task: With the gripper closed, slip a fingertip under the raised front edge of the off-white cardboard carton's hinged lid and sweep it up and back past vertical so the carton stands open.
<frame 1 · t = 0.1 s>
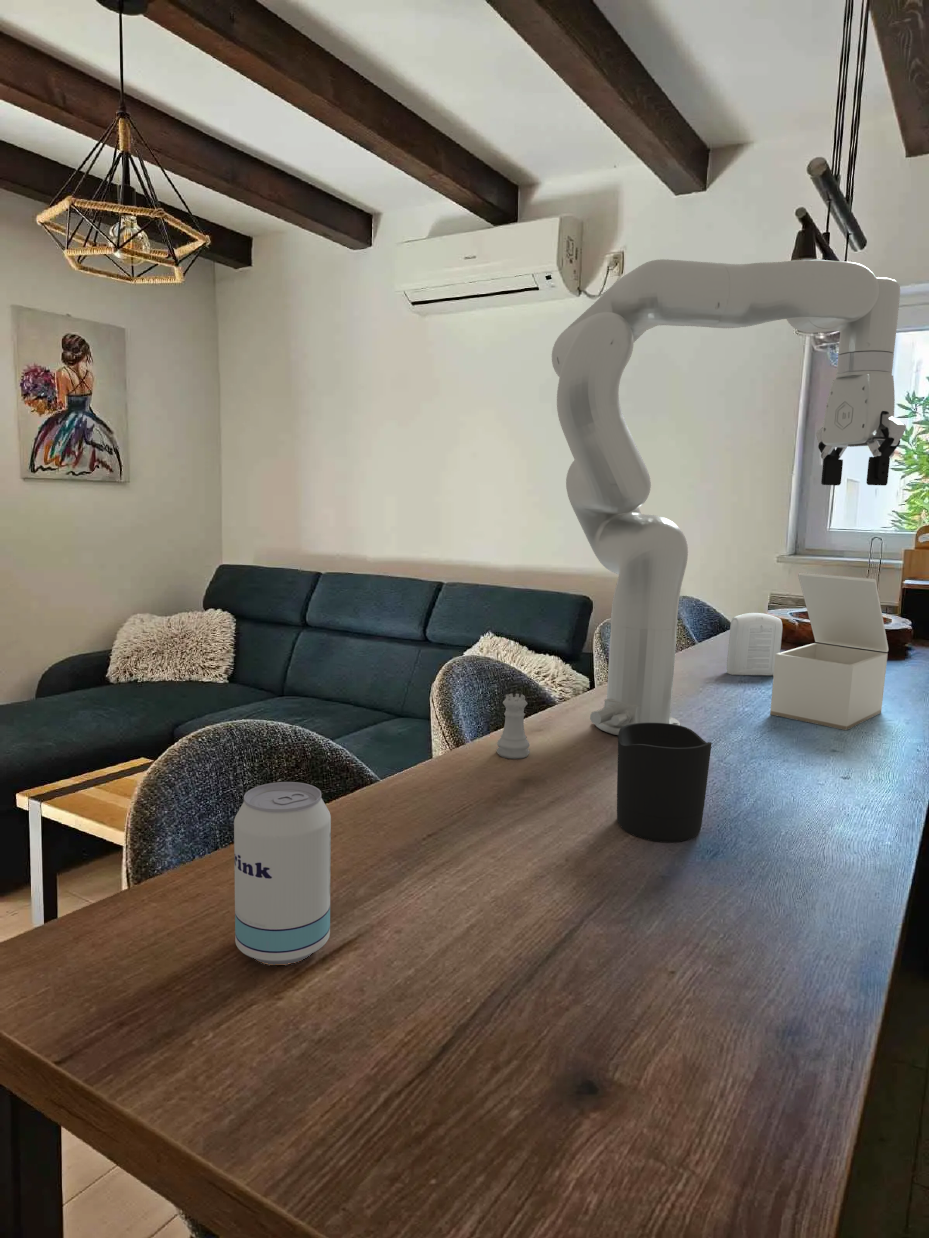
hand: (852, 485, 127), 37 cm above the table, tool pointing down, fingers open, 9 cm apart
carton lid: (843, 612, 137), point 17 cm above the table, hinge at 50.0°
carton: (826, 713, 138), on the table
rook chess piece: (512, 756, 111), on the table
pen holder: (658, 828, 88), on the table
beverage can: (283, 950, 63), on the table
photo printer: (751, 675, 167), on the table
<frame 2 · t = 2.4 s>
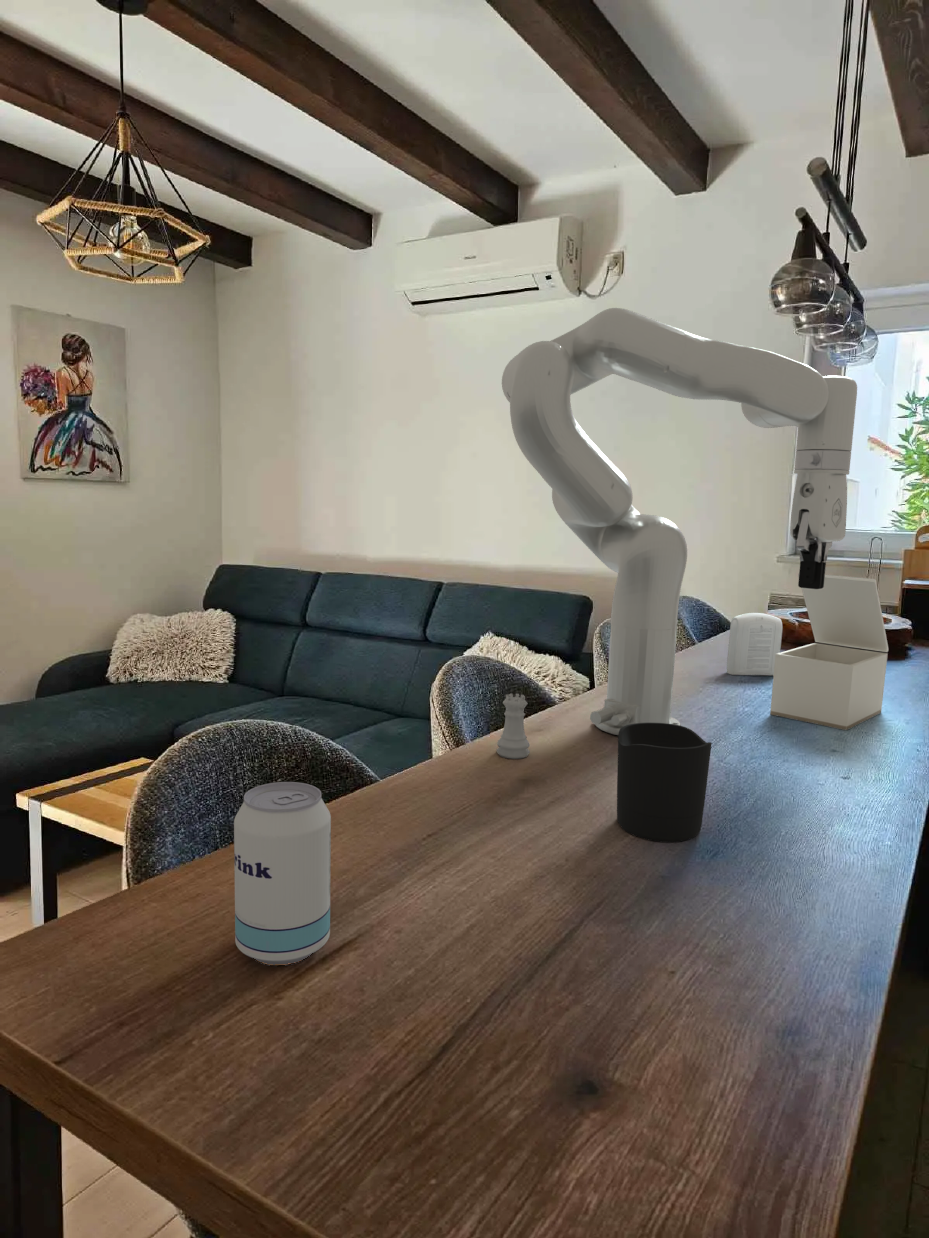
hand: (810, 587, 126), 22 cm above the table, tool pointing down, fingers closed
nothing on the table moved.
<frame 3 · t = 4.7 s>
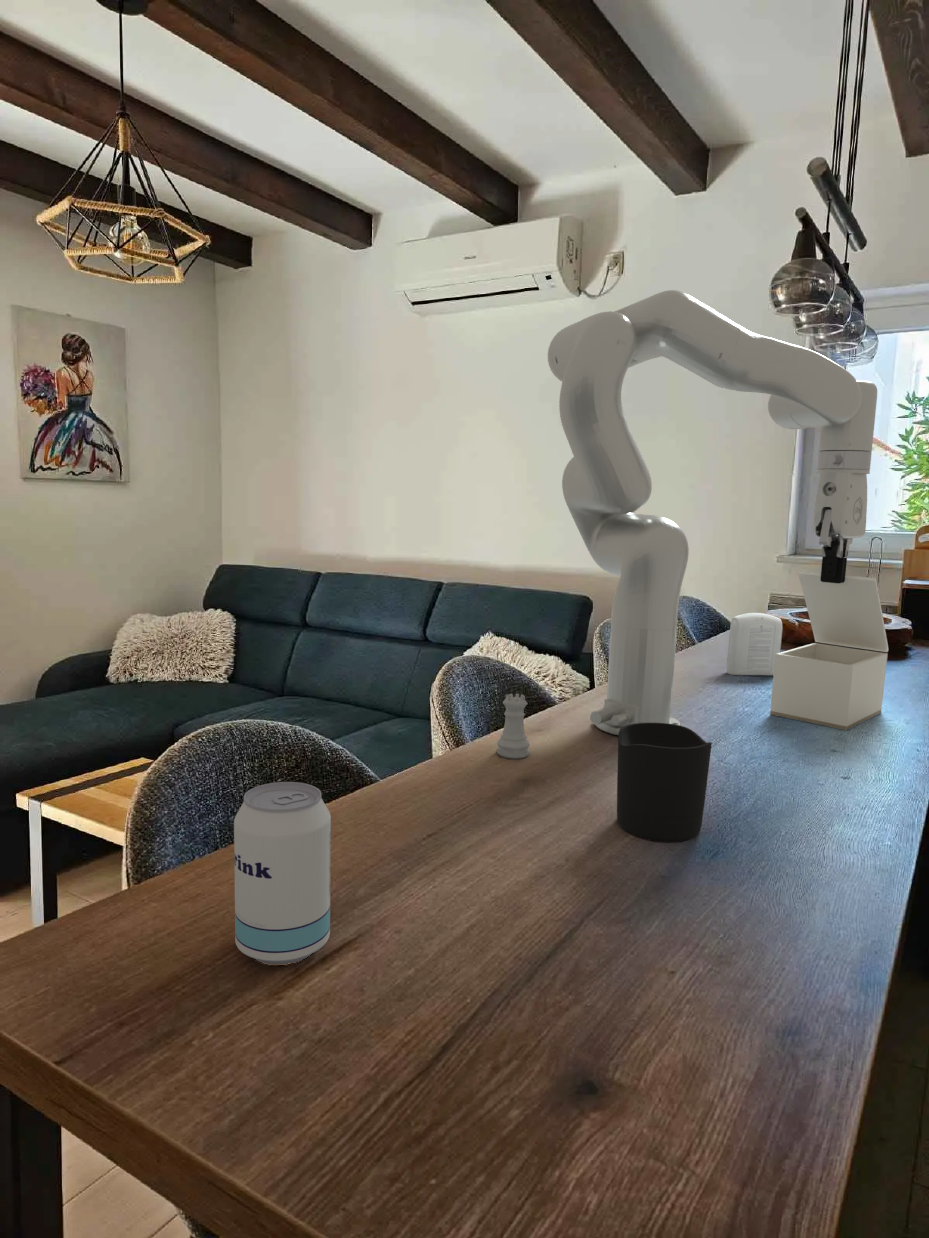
hand: (832, 582, 132), 22 cm above the table, tool pointing down, fingers closed
carton lid: (843, 612, 137), point 17 cm above the table, hinge at 50.8°, touching gripper
everything else where it was.
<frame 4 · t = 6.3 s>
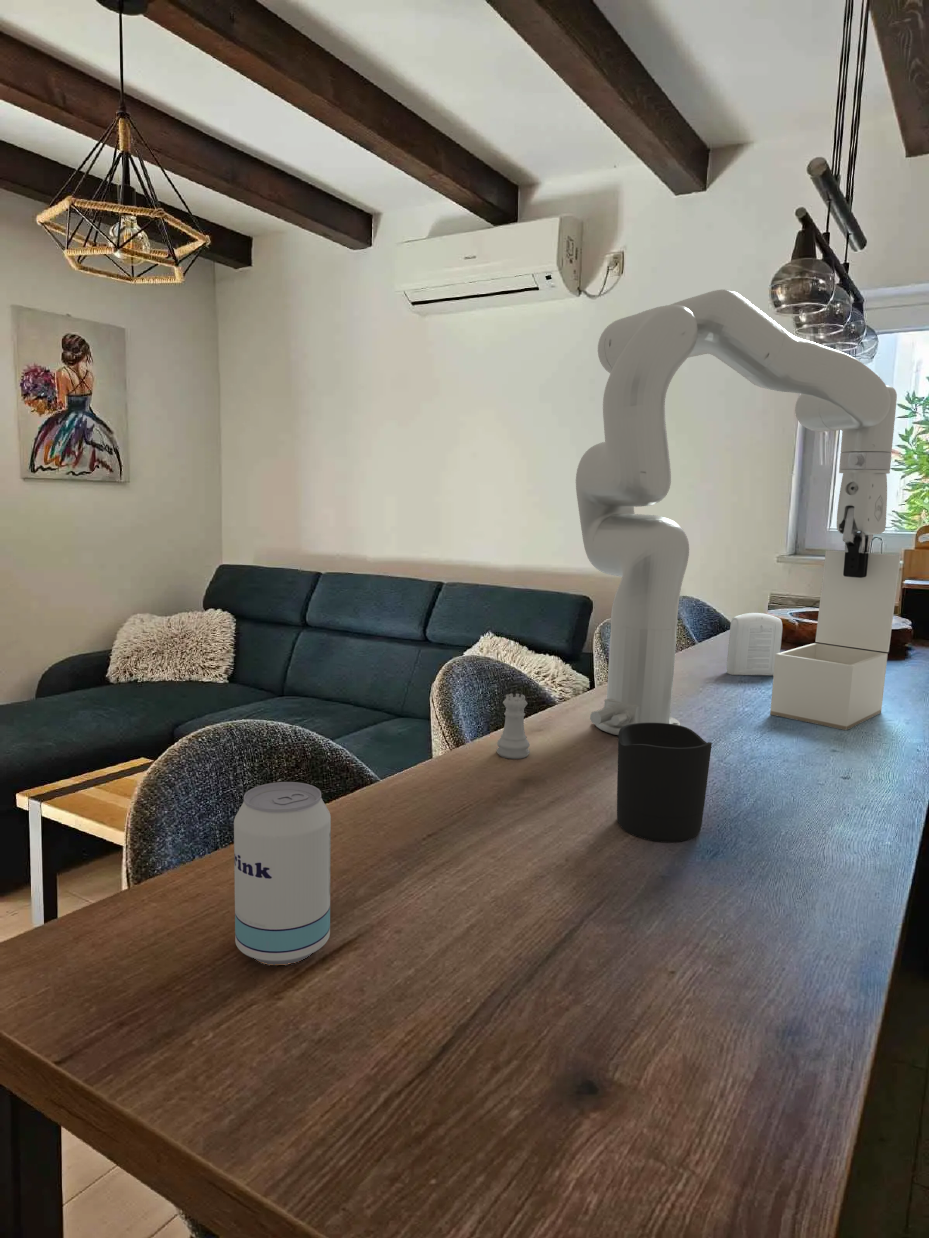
hand: (854, 576, 139), 22 cm above the table, tool pointing down, fingers closed
carton lid: (856, 600, 141), point 18 cm above the table, hinge at 92.8°, touching gripper
everything else where it was.
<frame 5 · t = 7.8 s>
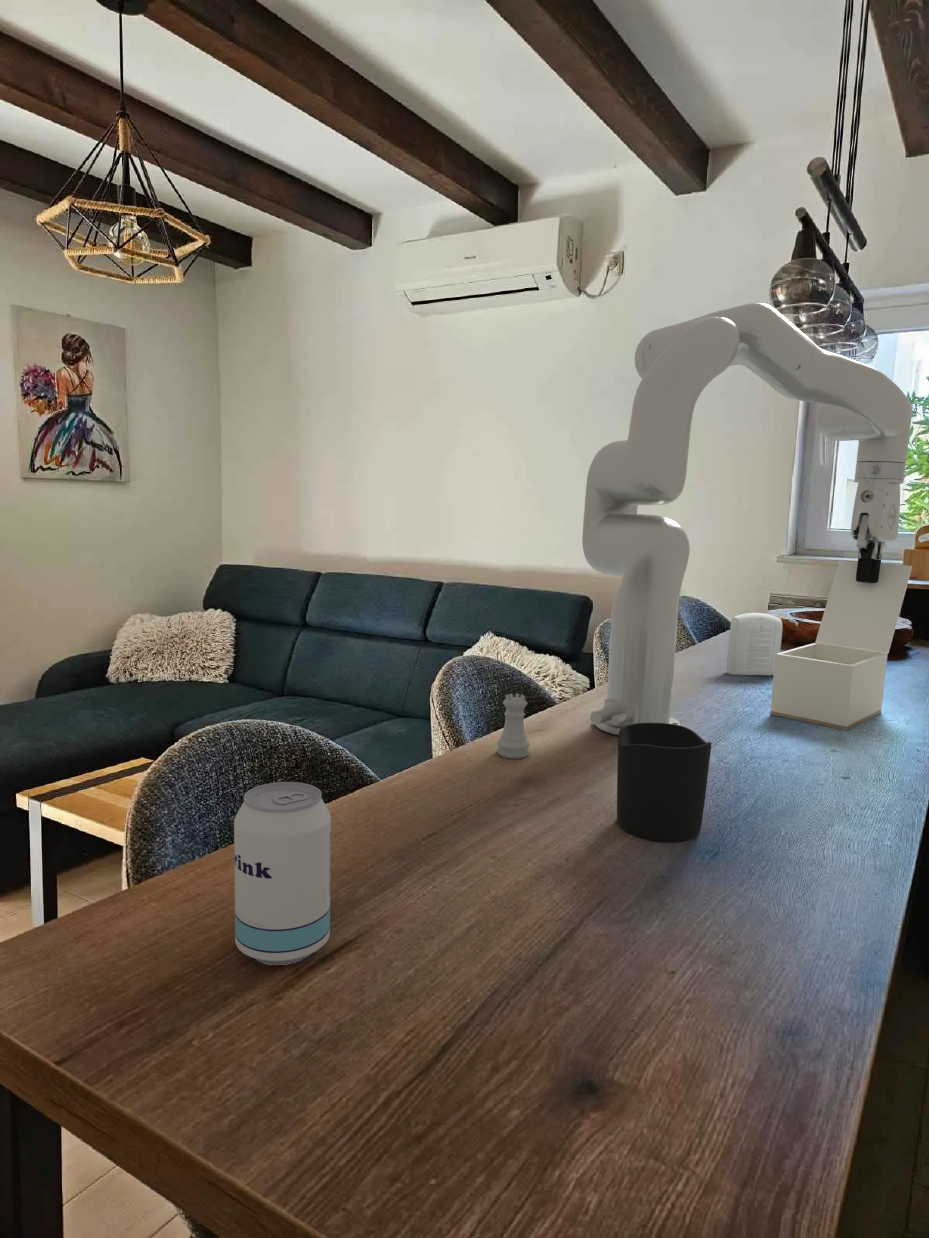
hand: (866, 582, 144), 21 cm above the table, tool pointing down, fingers closed
carton lid: (863, 605, 144), point 17 cm above the table, hinge at 119.2°, touching gripper
everything else where it was.
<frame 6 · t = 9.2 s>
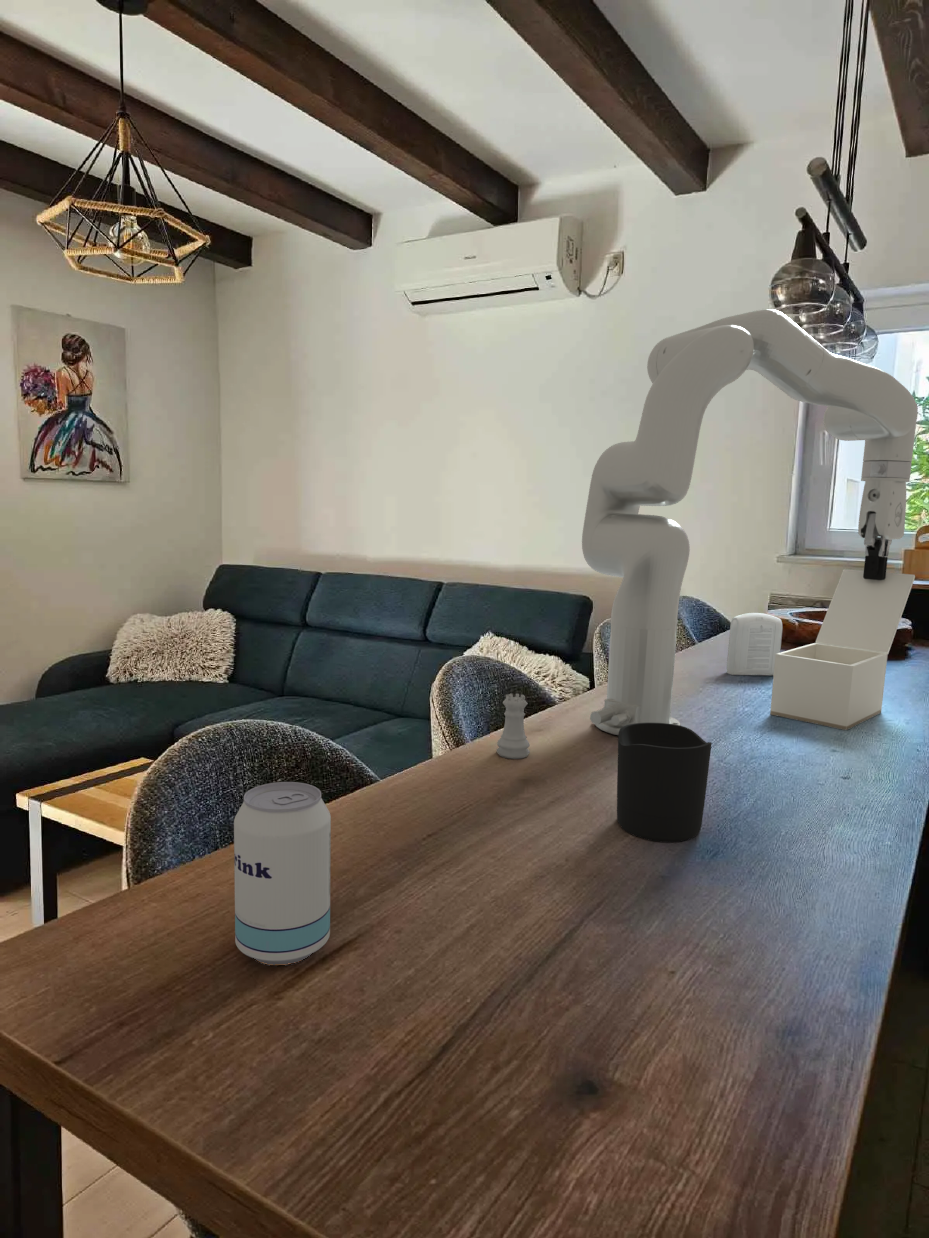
hand: (874, 579, 146), 21 cm above the table, tool pointing down, fingers closed
carton lid: (864, 609, 145), point 16 cm above the table, hinge at 129.7°, touching gripper
everything else where it was.
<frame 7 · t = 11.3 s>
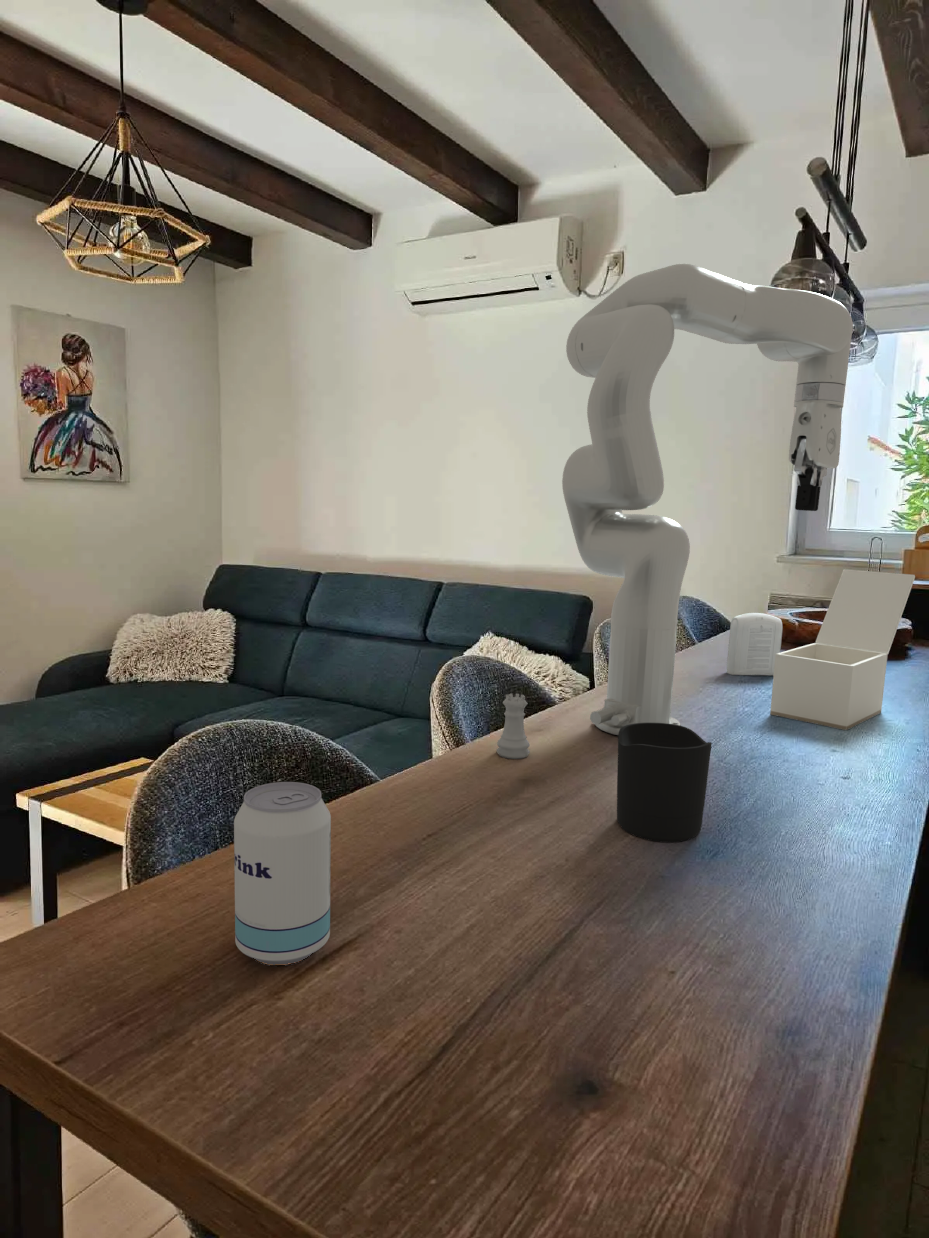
hand: (806, 510, 139), 33 cm above the table, tool pointing down, fingers closed
carton lid: (864, 609, 145), point 16 cm above the table, hinge at 129.8°
everything else where it was.
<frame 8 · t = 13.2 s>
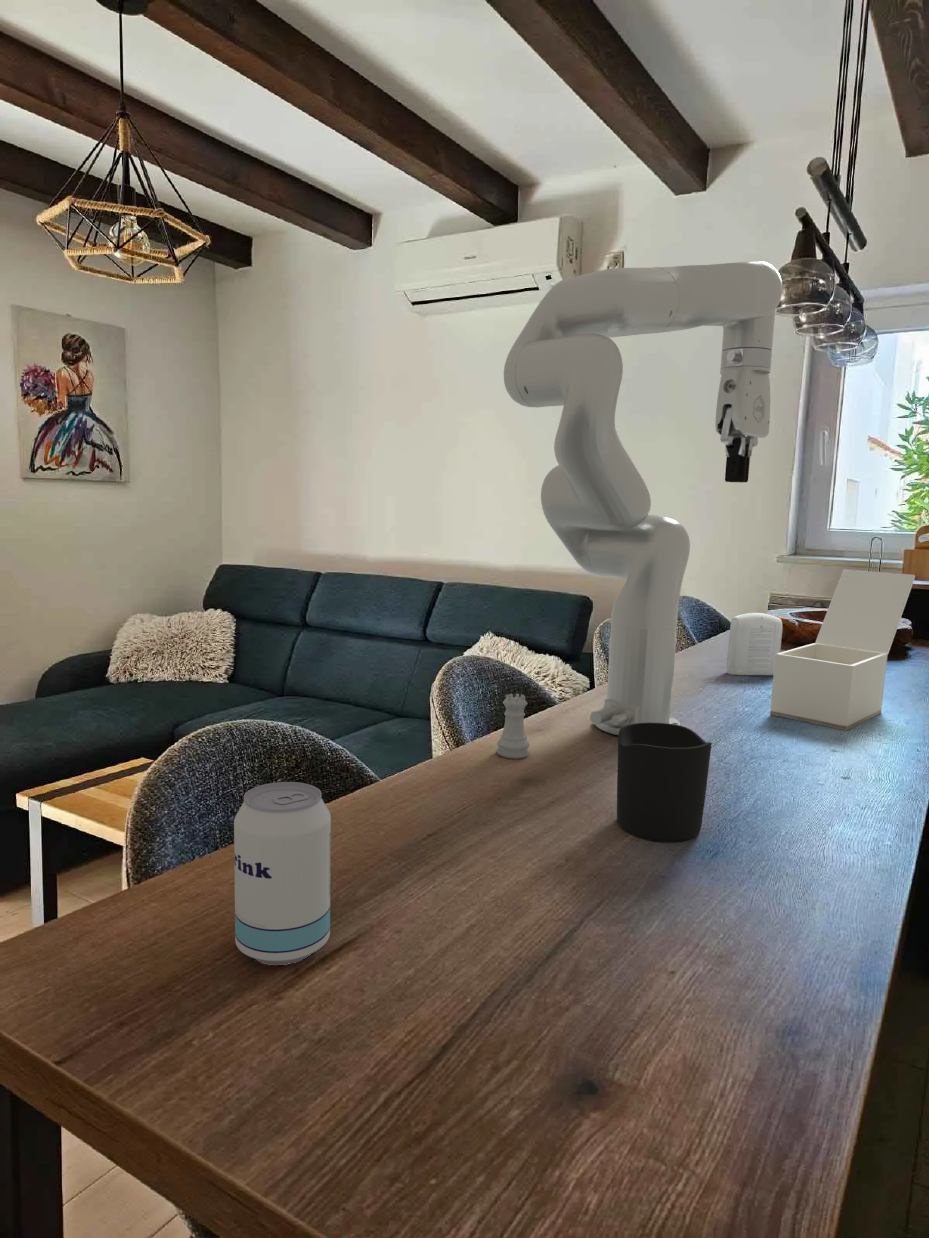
hand: (736, 481, 134), 37 cm above the table, tool pointing down, fingers closed
nothing on the table moved.
at the end: carton lid at +130° (first picture: +50°); photo printer moved 0.2 cm from its start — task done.
